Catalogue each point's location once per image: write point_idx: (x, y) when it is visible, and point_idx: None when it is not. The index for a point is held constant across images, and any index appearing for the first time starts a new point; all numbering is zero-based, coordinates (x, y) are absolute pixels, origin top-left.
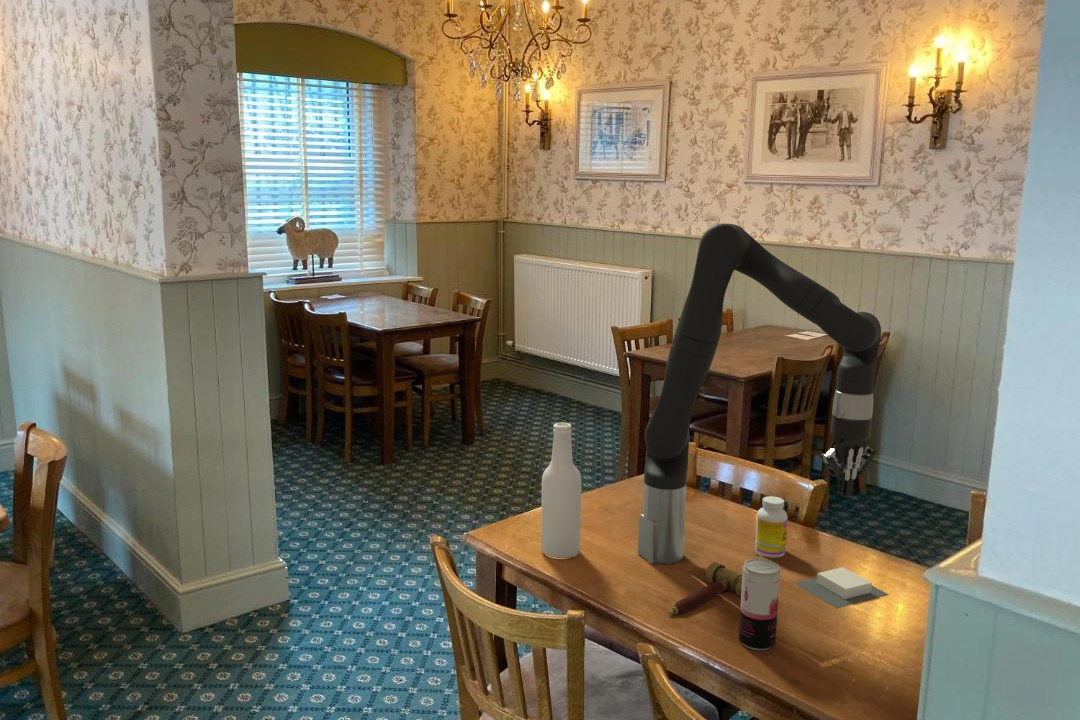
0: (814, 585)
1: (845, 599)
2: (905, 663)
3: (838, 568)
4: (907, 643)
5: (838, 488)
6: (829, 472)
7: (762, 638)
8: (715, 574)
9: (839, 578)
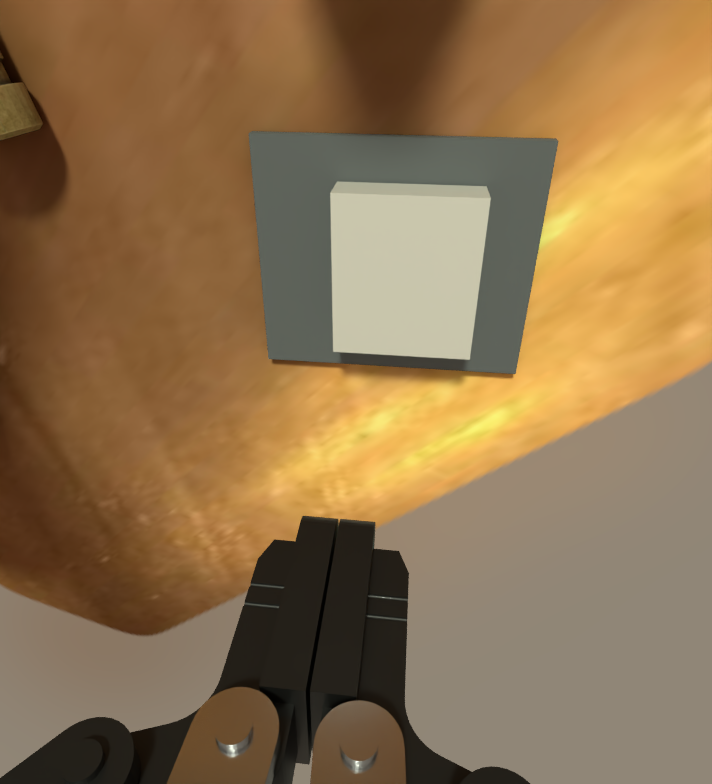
0: (315, 191)
1: None
2: None
3: (459, 199)
4: None
5: (253, 591)
6: (24, 761)
7: None
8: None
9: (380, 277)
